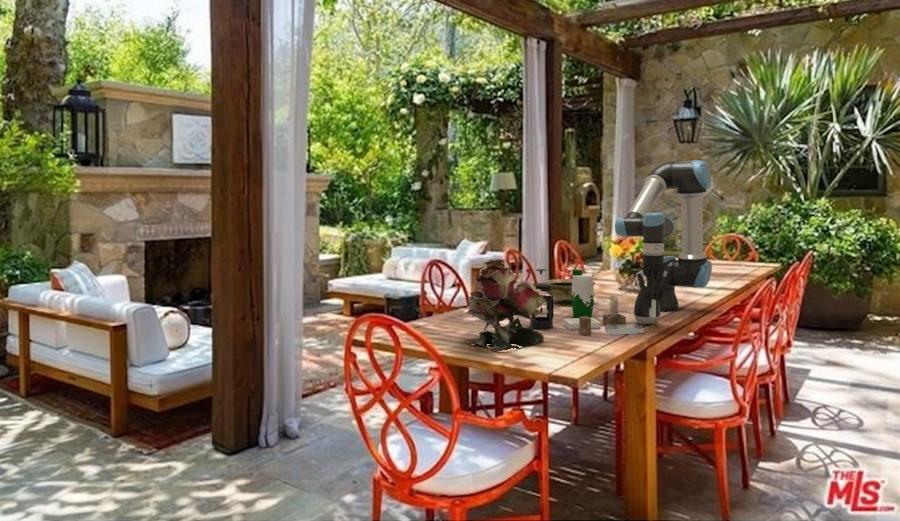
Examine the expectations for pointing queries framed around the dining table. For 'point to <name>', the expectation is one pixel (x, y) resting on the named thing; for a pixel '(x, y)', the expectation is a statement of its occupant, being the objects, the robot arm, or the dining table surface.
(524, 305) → the rose bouquet
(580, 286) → the milk carton
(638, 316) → the pump dispenser
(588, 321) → the wooden block
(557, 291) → the ceramic bowl
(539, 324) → the french press
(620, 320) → the socket block
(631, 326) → the plate
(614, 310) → the dowel
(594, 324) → the tray
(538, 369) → the dining table surface
